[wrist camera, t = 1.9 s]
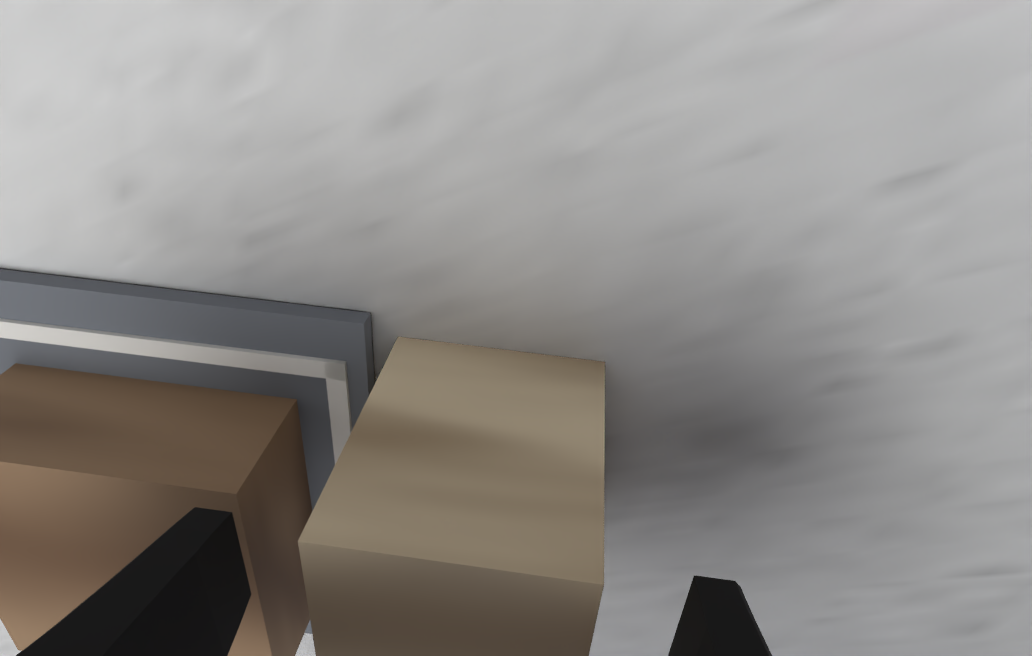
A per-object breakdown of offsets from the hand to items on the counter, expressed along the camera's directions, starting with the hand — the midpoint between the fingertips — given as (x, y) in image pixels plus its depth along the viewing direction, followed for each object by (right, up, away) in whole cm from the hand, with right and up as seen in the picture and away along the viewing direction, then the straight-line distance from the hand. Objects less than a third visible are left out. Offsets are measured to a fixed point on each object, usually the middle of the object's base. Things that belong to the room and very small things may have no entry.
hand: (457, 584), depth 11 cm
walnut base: (-7, 0, +5) cm, 8 cm away
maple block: (+1, +2, +3) cm, 4 cm away
